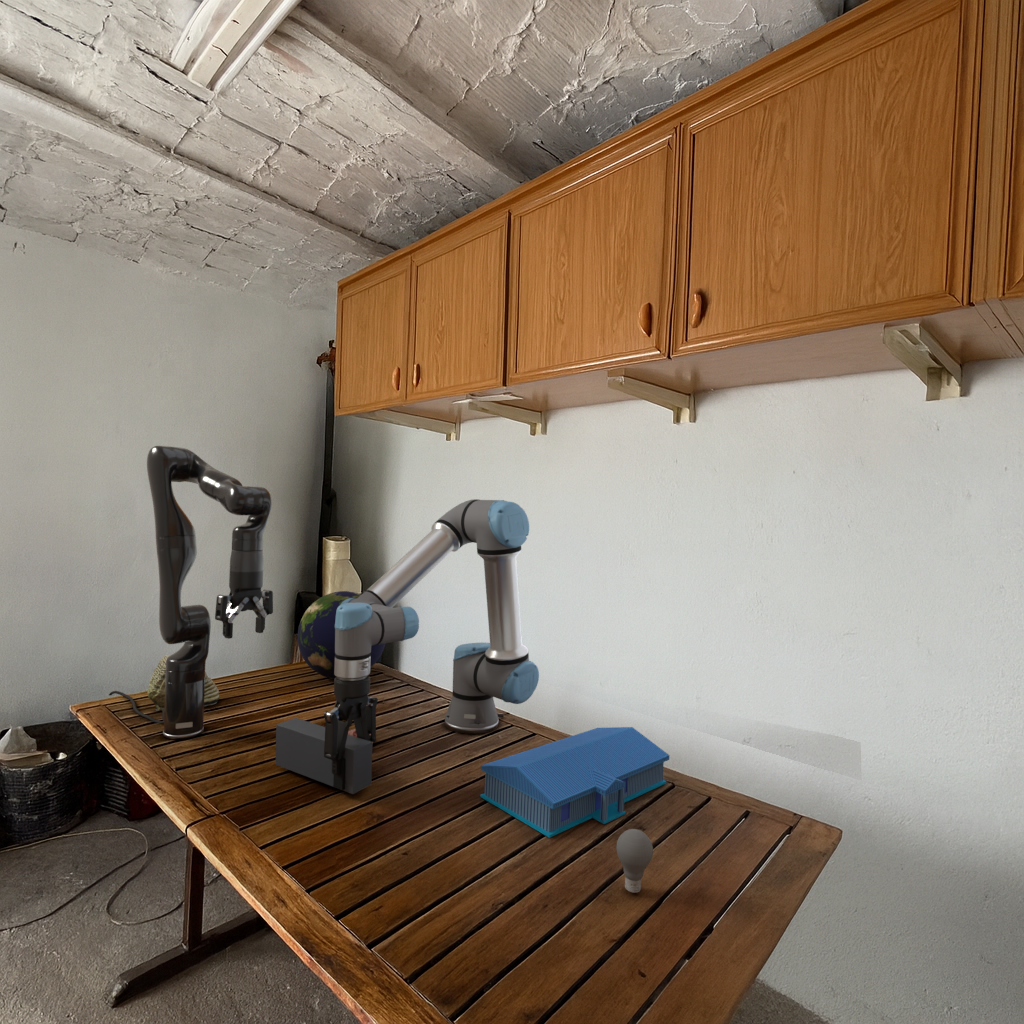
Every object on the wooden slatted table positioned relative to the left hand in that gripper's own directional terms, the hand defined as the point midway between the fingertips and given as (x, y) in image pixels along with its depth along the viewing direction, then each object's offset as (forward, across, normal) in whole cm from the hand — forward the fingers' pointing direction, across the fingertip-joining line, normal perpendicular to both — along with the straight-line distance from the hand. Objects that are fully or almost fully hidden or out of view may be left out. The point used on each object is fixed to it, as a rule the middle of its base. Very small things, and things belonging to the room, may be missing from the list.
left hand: (244, 635), depth 154 cm
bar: (+27, +1, -27) cm, 39 cm away
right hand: (+27, +1, -36) cm, 45 cm away
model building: (+29, +32, -77) cm, 88 cm away
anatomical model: (+29, +19, -16) cm, 38 cm away
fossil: (+29, +11, +41) cm, 52 cm away
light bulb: (+29, +4, -99) cm, 103 cm away
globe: (+29, +60, +28) cm, 72 cm away
